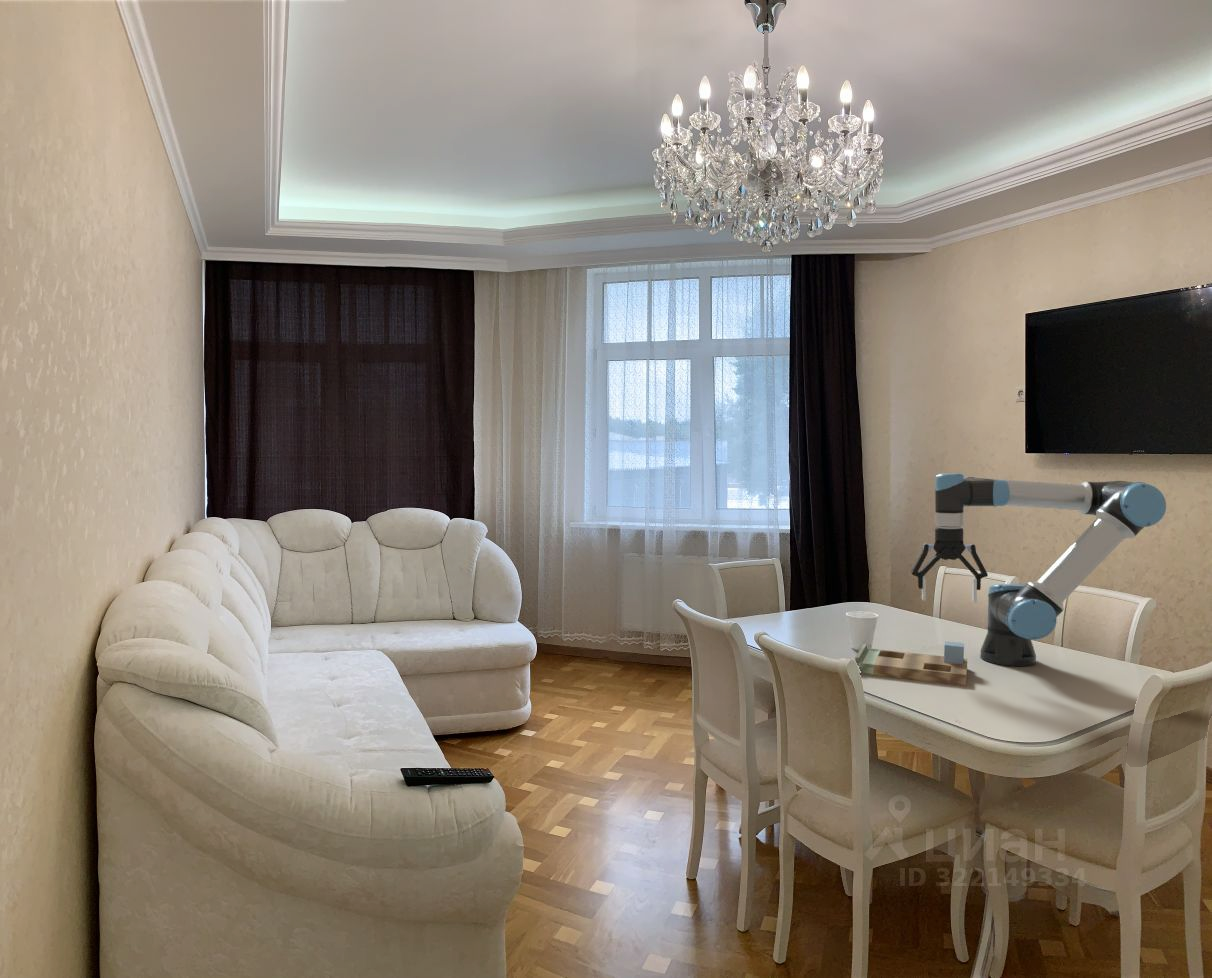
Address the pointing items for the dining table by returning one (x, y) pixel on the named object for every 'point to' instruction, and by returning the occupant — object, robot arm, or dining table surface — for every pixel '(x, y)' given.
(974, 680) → the dining table surface
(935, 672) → the board
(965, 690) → the dining table surface
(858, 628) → the cup
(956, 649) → the block
